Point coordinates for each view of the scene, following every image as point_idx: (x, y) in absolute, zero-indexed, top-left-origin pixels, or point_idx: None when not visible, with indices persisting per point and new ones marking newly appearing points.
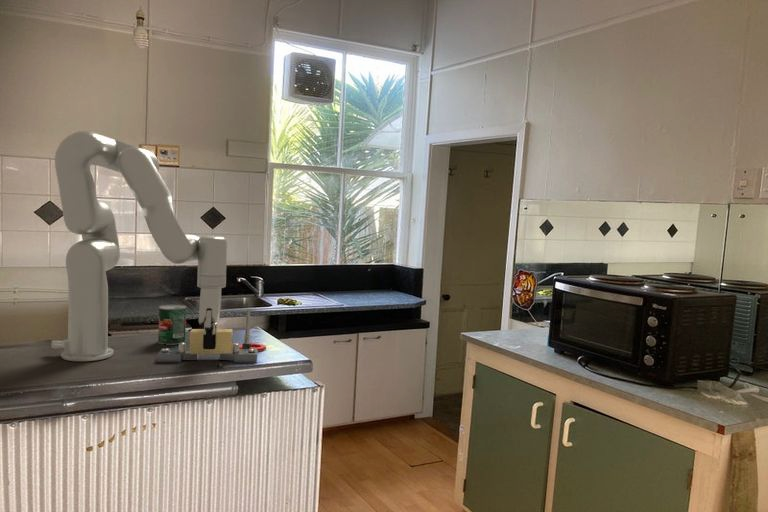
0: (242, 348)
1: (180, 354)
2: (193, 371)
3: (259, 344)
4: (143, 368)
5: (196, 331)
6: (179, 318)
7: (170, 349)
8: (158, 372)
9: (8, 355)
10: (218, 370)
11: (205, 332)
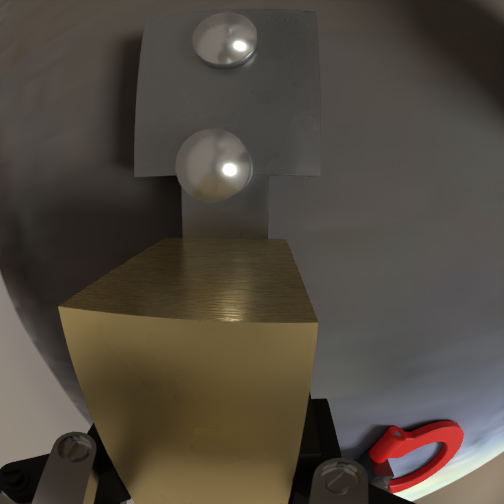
0: (367, 461)
1: (134, 172)
2: (21, 271)
3: (430, 473)
4: (61, 32)
5: (125, 396)
6: None
7: (286, 68)
8: (5, 121)
9: None
10: (56, 368)
11: (58, 457)
